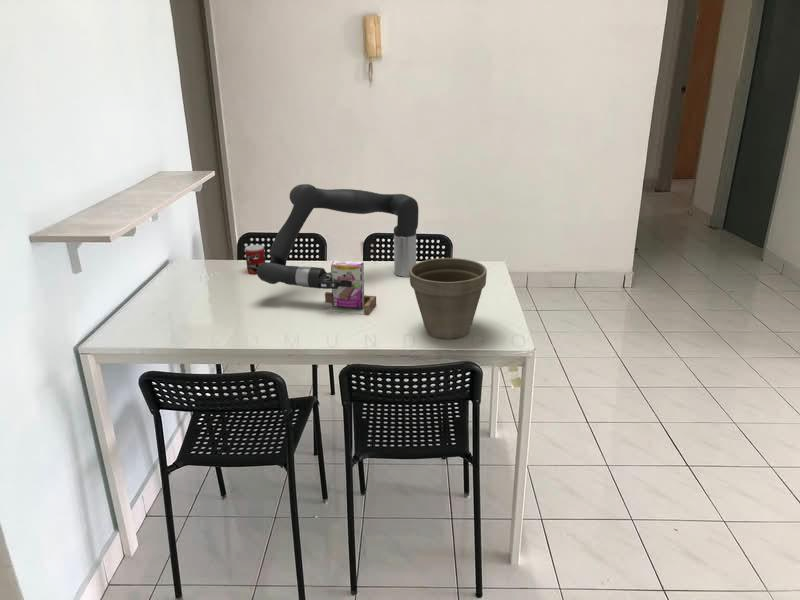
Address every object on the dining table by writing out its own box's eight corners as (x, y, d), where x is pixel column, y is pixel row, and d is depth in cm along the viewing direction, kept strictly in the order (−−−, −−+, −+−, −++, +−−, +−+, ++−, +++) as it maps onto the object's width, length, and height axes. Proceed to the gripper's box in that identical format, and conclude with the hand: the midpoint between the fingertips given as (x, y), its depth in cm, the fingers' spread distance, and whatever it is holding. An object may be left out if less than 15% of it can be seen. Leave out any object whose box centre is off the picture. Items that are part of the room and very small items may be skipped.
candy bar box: (332, 307, 217) (330, 264, 211) (334, 302, 222) (333, 260, 216) (362, 308, 216) (361, 265, 210) (364, 303, 221) (363, 261, 215)
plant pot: (394, 332, 200) (393, 270, 192) (439, 309, 217) (440, 252, 209) (455, 353, 185) (456, 287, 177) (498, 328, 202) (501, 266, 194)
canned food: (243, 272, 259) (241, 248, 254) (257, 267, 265) (255, 243, 261) (256, 275, 254) (253, 251, 250) (270, 270, 261) (267, 246, 256)
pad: (335, 302, 225) (335, 302, 225) (371, 306, 221) (371, 305, 221) (327, 311, 218) (327, 310, 218) (364, 314, 214) (364, 314, 214)
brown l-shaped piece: (326, 300, 227) (326, 291, 226) (376, 305, 222) (375, 296, 221) (317, 310, 219) (316, 301, 217) (368, 315, 214) (367, 305, 213)
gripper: (302, 273, 211) (347, 278, 207) (317, 261, 224) (360, 265, 220) (303, 293, 214) (348, 298, 210) (318, 280, 227) (361, 284, 223)
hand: (354, 281), depth 215 cm, fingers closed on candy bar box, 5 cm apart
